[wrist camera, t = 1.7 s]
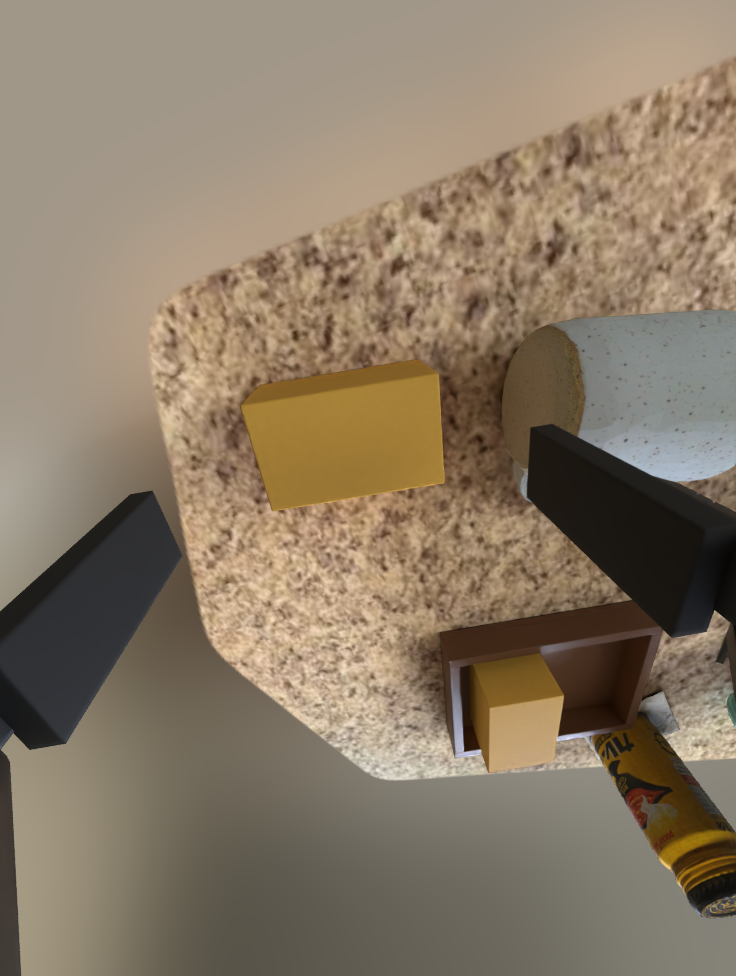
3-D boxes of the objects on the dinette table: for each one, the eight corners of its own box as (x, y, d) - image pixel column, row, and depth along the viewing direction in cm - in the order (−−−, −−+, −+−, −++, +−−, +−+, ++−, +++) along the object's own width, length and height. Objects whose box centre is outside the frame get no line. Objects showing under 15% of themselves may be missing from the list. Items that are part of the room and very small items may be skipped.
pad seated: (468, 653, 29) (488, 708, 25) (533, 642, 29) (564, 695, 25) (470, 717, 32) (488, 773, 29) (527, 707, 33) (554, 762, 29)
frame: (439, 632, 28) (448, 661, 26) (638, 599, 28) (665, 625, 26) (447, 727, 34) (455, 758, 32) (612, 699, 34) (632, 728, 32)
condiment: (575, 726, 35) (678, 908, 25) (661, 689, 34) (811, 867, 23) (597, 758, 38) (698, 933, 28) (677, 725, 37) (817, 898, 26)
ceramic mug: (501, 316, 18) (597, 328, 12) (657, 306, 19) (839, 312, 12) (482, 499, 23) (541, 582, 17) (606, 488, 24) (714, 566, 17)
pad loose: (283, 474, 21) (271, 512, 18) (258, 384, 19) (239, 405, 15) (425, 450, 21) (445, 483, 18) (418, 358, 19) (439, 372, 15)
